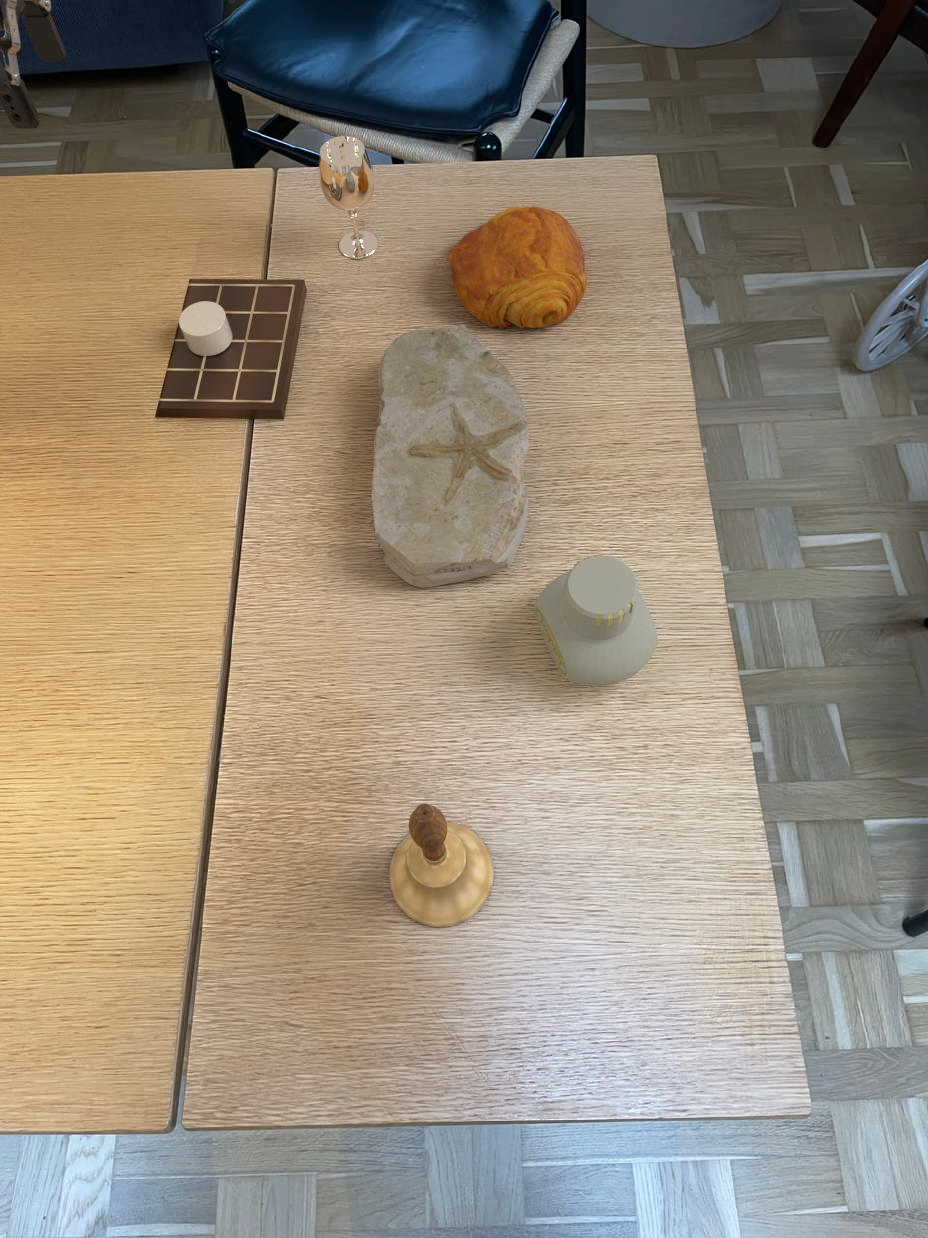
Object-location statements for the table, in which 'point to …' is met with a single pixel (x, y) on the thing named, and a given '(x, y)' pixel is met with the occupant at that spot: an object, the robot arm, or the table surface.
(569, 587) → the air freshener
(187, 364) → the grid board
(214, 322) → the white short cylinder
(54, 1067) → the table surface
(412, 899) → the hand bell
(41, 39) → the robot arm
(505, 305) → the croissant
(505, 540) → the fossil stone
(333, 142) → the wineglass
